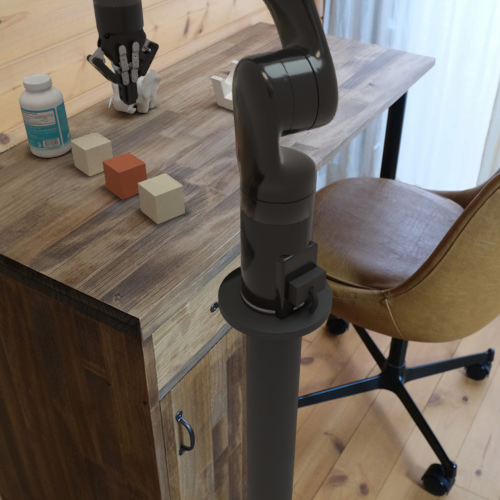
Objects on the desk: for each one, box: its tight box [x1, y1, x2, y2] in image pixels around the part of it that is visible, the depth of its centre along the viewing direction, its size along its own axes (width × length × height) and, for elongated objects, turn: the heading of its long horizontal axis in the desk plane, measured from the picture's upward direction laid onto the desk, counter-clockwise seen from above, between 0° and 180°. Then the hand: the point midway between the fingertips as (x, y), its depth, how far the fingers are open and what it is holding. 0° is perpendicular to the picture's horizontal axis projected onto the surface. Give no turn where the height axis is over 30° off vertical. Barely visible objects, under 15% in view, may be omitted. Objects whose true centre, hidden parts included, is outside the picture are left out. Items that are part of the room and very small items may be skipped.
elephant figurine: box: [108, 66, 162, 115], centre depth 129 cm, size 10×12×9 cm
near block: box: [138, 172, 186, 225], centre depth 99 cm, size 5×5×5 cm
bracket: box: [210, 59, 239, 111], centre depth 130 cm, size 13×7×8 cm, turn 49°
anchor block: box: [103, 151, 148, 201], centre depth 105 cm, size 5×5×5 cm
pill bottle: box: [18, 73, 72, 159], centre depth 114 cm, size 8×7×14 cm
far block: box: [70, 131, 114, 177], centre depth 111 cm, size 5×5×5 cm
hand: (129, 103), depth 111 cm, fingers closed
